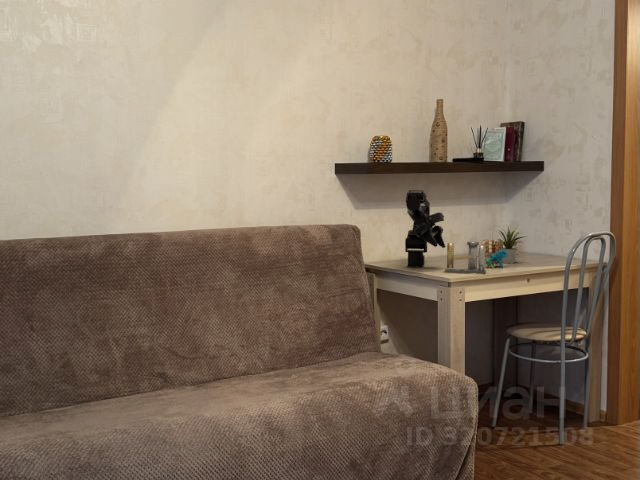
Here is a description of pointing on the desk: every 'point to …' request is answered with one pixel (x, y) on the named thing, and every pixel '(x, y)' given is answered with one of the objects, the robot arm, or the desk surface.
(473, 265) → the grey stone tower
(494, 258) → the blue animal figurine
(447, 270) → the bolt plate
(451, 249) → the swing leg
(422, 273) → the desk surface
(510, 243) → the house plant
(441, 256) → the desk surface
